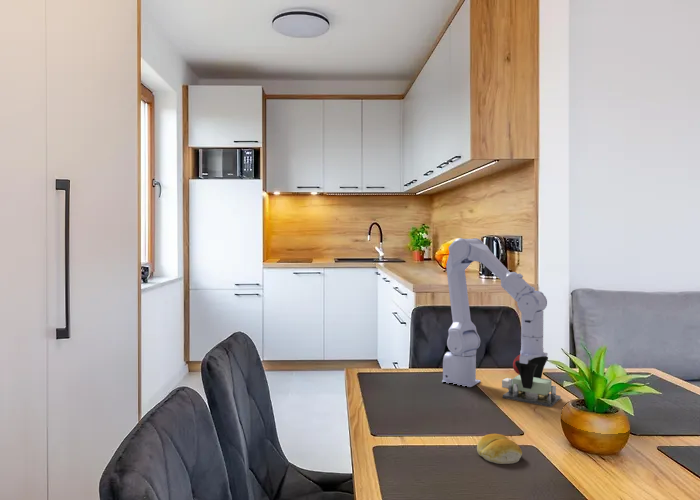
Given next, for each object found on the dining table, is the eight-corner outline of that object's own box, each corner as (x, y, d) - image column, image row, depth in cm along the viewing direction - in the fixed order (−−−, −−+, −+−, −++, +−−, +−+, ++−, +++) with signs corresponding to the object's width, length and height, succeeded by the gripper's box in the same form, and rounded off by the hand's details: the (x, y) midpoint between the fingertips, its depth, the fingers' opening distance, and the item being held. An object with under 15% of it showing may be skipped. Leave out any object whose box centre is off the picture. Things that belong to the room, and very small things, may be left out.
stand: (502, 387, 154) (502, 380, 154) (506, 384, 157) (506, 377, 157) (529, 391, 149) (529, 384, 149) (532, 389, 152) (532, 382, 152)
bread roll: (504, 445, 111) (504, 427, 111) (528, 463, 102) (528, 443, 102) (469, 449, 109) (469, 430, 109) (489, 467, 100) (490, 446, 100)
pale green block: (512, 389, 144) (512, 378, 144) (518, 385, 148) (518, 374, 148) (546, 395, 138) (546, 383, 138) (551, 390, 142) (551, 379, 142)
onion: (512, 378, 164) (513, 353, 164) (512, 373, 169) (512, 349, 169) (532, 379, 162) (532, 354, 162) (531, 375, 168) (531, 350, 167)
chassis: (502, 397, 144) (502, 382, 143) (513, 390, 151) (513, 375, 151) (551, 407, 136) (551, 390, 136) (560, 398, 143) (560, 383, 143)
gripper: (538, 341, 135) (538, 393, 135) (554, 333, 146) (554, 381, 147) (512, 338, 139) (511, 388, 139) (529, 330, 151) (528, 377, 151)
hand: (531, 384), depth 143 cm, fingers open, 7 cm apart
